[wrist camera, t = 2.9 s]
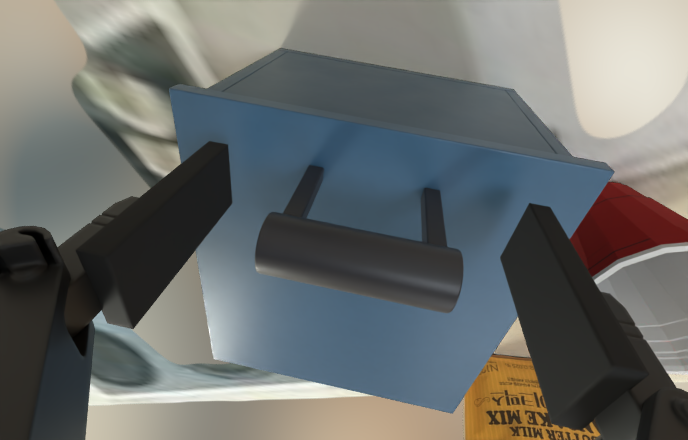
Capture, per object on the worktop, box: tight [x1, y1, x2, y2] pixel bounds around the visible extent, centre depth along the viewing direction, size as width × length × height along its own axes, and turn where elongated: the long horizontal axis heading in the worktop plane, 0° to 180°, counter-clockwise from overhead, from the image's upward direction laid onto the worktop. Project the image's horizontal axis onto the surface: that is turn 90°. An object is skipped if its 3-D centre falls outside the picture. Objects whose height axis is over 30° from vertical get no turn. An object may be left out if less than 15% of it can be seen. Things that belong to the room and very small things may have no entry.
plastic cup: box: [570, 182, 688, 374], centre depth 25 cm, size 11×11×12 cm
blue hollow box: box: [208, 48, 573, 157], centre depth 26 cm, size 19×18×14 cm
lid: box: [169, 84, 614, 413], centre depth 17 cm, size 19×18×7 cm
